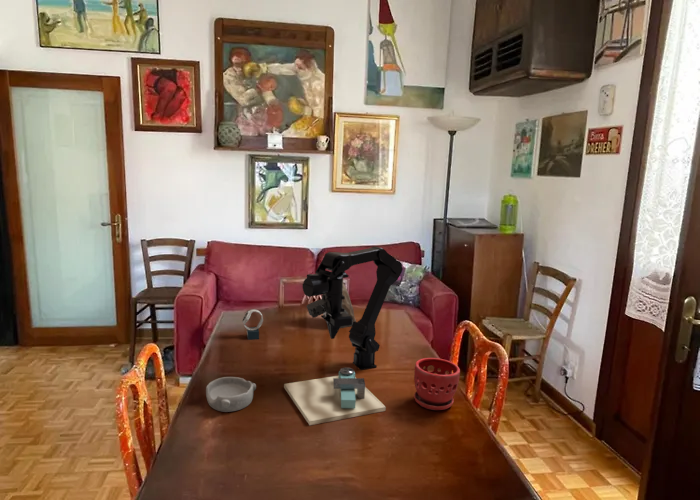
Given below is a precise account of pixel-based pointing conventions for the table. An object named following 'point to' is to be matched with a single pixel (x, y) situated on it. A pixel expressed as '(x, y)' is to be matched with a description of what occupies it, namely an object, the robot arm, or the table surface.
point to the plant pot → (435, 383)
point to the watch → (252, 331)
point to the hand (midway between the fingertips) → (332, 338)
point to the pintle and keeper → (350, 382)
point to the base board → (328, 401)
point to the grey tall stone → (347, 306)
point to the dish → (229, 393)
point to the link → (347, 394)
